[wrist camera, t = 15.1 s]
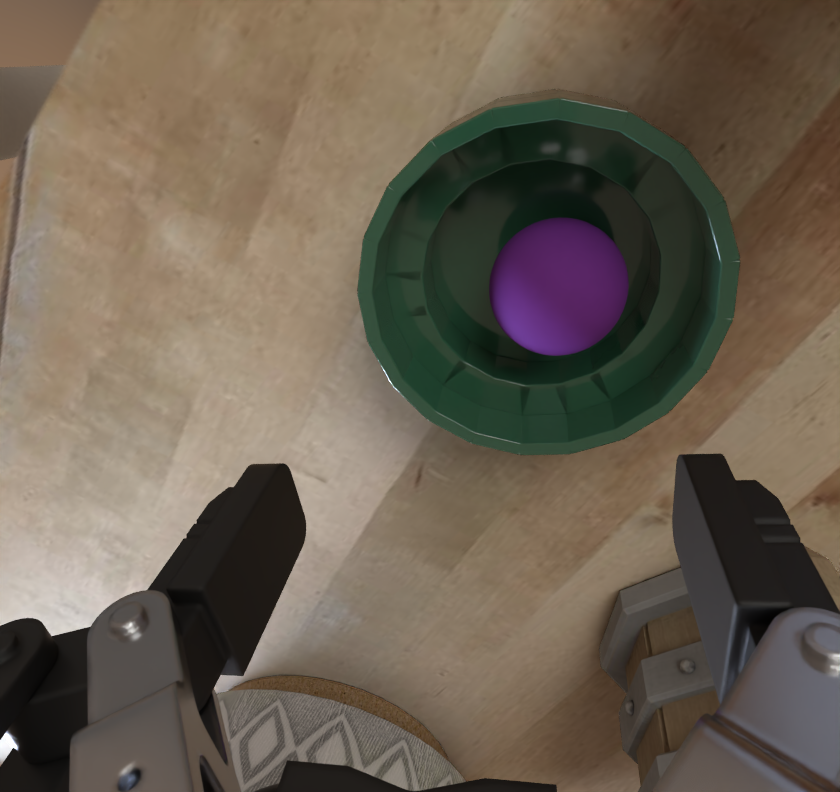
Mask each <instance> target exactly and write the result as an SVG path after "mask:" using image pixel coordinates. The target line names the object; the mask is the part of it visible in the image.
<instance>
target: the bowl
mask: <svg viewBox="0 0 840 792" xmlns="http://www.w3.org/2000/svg"><path fill="white" fill-rule="evenodd" d="M549 218H573V219H579V220H582V221H585V222H587V223H589V224H591V225H593V226H595V227H597V228H599V229H600V230H602V231H603V232H605V233H606V234H607V235H608V236H609V237H610V238H611V239H612V240H613V241H614V243H615V244H616V245H617V247H618V248H619V250H620V252H621V254H622V256H623V258H624V261H625V264H626V267H627V272H628V282H629V288H628V296H627V300H626V304H625V307H624V310H623V312H622V314H621V316H620V318H619V320H618V322H617V323H616V325H615V326H614V327H613V328H612V330H611V331H610V332H609V333H608V334H607V335H606V336H605V337H604V338H603V339H601V340H600V341H599V342H598V343H596V344H594V345H593V346H591V347H589V348H587V349H585V350H583V351H580V352H577V353H573V354H569V355H561V356H550V355H543V354H539V353H535V352H532V351H530V350H527V349H525V348H523V347H522V346H520V345H518V344H517V343H516V342H514V341H513V340H512V339H511V338H509V336H508V335H507V334H506V333H505V332H504V331H503V329H502V328H501V327H500V325H499V324H498V322H497V320H496V318H495V316H494V313H493V310H492V307H491V303H490V297H489V283H490V275H491V271H492V268H493V265H494V263H495V260H496V258H497V256H498V255H499V253H500V251H501V250H502V248H503V247H504V246H505V244H506V243H507V242H508V241H509V240H510V239H511V238H512V237H513V236H514V235H515V234H516V233H518V232H519V231H521V230H522V229H524V228H525V227H527V226H529V225H531V224H533V223H536V222H538V221H541V220H545V219H549ZM739 259H740V255H739V251H738V247H737V243H736V239H735V236H734V232H733V228H732V224H731V220H730V216H729V212H728V208H727V205H726V201H725V200H724V197H723V196H722V194H721V193H720V192H719V190H718V189H717V187H716V186H715V185H714V183H713V182H712V181H711V179H710V178H709V177H708V175H707V174H706V173H705V171H704V170H703V168H702V167H701V166H700V164H699V163H698V162H697V160H696V159H695V158H694V156H693V155H692V154H691V152H690V151H689V150H688V148H686V147H685V146H684V145H683V144H682V143H680V142H679V141H677V140H676V139H674V138H673V137H672V136H670V135H669V134H667V133H666V132H665V131H663V130H662V129H660V128H659V127H657V126H655V125H654V124H652V123H651V122H649V121H647V120H646V119H644V118H643V117H641V116H639V115H638V114H636V113H634V112H633V111H631V110H630V109H628V108H626V107H625V106H623V105H622V104H620V103H618V102H617V101H615V100H612V99H608V98H602V97H597V96H592V95H587V94H582V93H577V92H572V91H567V90H562V89H552V90H545V91H539V92H532V93H526V94H519V95H513V96H507V97H501V98H498V99H496V100H494V101H492V102H490V103H488V104H487V105H485V106H483V107H481V108H479V109H477V110H475V111H473V112H471V113H470V114H468V115H466V116H464V117H462V118H460V119H458V120H456V121H454V122H452V123H451V124H450V125H448V126H447V127H446V128H445V129H443V130H442V131H441V132H440V133H438V134H437V135H436V136H435V137H434V138H432V139H431V140H430V141H429V142H428V143H427V144H426V145H425V146H424V147H423V148H422V149H421V150H420V152H419V153H418V154H417V155H416V156H415V157H414V158H413V159H412V160H411V161H410V162H409V163H408V164H407V165H406V166H405V167H404V168H403V169H402V170H401V171H400V173H399V174H398V175H397V176H396V177H395V178H394V179H393V180H392V181H391V182H390V183H389V185H388V186H387V188H386V190H385V192H384V194H383V196H382V198H381V200H380V203H379V205H378V207H377V209H376V211H375V213H374V216H373V218H372V220H371V222H370V224H369V226H368V228H367V231H366V233H365V235H364V239H363V243H362V252H361V261H360V270H359V279H358V288H357V291H358V293H357V294H358V299H359V304H360V308H361V313H362V318H363V323H364V327H365V332H366V337H367V341H368V343H369V346H370V347H371V349H372V351H373V353H374V354H375V356H376V358H377V360H378V362H379V363H380V365H381V367H382V369H383V370H384V372H385V374H386V376H387V377H388V379H389V381H390V383H391V385H393V387H394V388H395V389H396V390H397V391H398V392H399V393H400V394H401V395H402V396H403V397H404V398H405V399H406V400H407V401H408V402H409V403H410V404H412V405H413V406H414V407H415V408H416V409H417V410H418V411H419V412H420V413H421V414H422V415H423V416H424V417H425V418H426V419H428V420H429V421H430V422H432V423H434V424H436V425H438V426H440V427H442V428H443V429H445V430H447V431H449V432H451V433H453V434H455V435H456V436H458V437H460V438H462V439H464V440H466V441H468V442H469V443H472V444H476V445H480V446H484V447H489V448H493V449H497V450H501V451H505V452H509V453H514V454H520V455H557V454H571V453H572V454H573V453H577V452H580V451H584V450H587V449H591V448H595V447H598V446H602V445H605V444H609V443H613V442H616V441H620V440H622V439H625V438H627V437H628V436H630V435H632V434H633V433H635V432H637V431H639V430H640V429H642V428H644V427H645V426H647V425H649V424H650V423H652V422H654V421H656V420H657V419H659V418H661V417H662V416H664V415H666V414H667V413H669V411H671V410H672V409H673V408H674V407H675V406H676V405H677V403H678V402H679V401H680V400H681V399H682V398H683V397H684V396H685V395H686V394H687V393H688V392H689V391H690V390H691V389H692V388H693V387H694V386H695V384H696V383H697V382H698V381H699V380H700V379H701V378H702V377H703V376H704V375H705V374H706V373H707V370H709V368H710V366H711V364H712V362H713V360H714V358H715V356H716V354H717V352H718V350H719V348H720V346H721V344H722V342H723V340H724V338H725V336H726V333H727V331H728V329H729V327H730V325H731V323H732V321H733V319H732V318H734V312H735V303H736V295H737V286H738V277H739V268H740V260H739Z"/></svg>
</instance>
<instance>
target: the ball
mask: <svg viewBox="0 0 840 792" xmlns="http://www.w3.org/2000/svg"><path fill="white" fill-rule="evenodd" d="M628 288H629V282H628V272H627V267H626V264H625V261H624V258H623V256H622V254H621V252H620V250H619V248H618V247H617V245H616V244H615V243H614V241H613V240H612V239H611V238H610V237H609V236H608V235H607V234H606V233H605V232H603V231H602V230H600V229H599V228H597V227H595V226H593V225H591V224H589V223H587V222H585V221H582V220H579V219H573V218H549V219H545V220H541V221H538V222H536V223H533V224H531V225H529V226H527V227H525V228H524V229H522V230H521V231H519V232H518V233H516V234H515V235H514V236H513V237H512V238H511V239H510V240H509V241H508V242H507V243H506V244H505V246H504V247H503V248H502V250H501V251H500V253H499V255H498V256H497V258H496V260H495V263H494V265H493V268H492V271H491V275H490V283H489V297H490V303H491V307H492V310H493V313H494V316H495V318H496V320H497V322H498V324H499V325H500V327H501V328H502V329H503V331H504V332H505V333H506V334H507V335H508V336H509V338H511V339H512V340H513V341H514V342H516V343H517V344H518V345H520V346H522V347H523V348H525V349H527V350H530V351H532V352H535V353H539V354H543V355H550V356H561V355H569V354H573V353H577V352H580V351H583V350H585V349H587V348H589V347H591V346H593V345H594V344H596V343H598V342H599V341H600V340H601V339H603V338H604V337H605V336H606V335H607V334H608V333H609V332H610V331H611V330H612V328H613V327H614V326H615V325H616V323H617V322H618V320H619V318H620V316H621V314H622V312H623V310H624V307H625V304H626V300H627V296H628Z"/></svg>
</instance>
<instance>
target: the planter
mask: <svg viewBox="0 0 840 792" xmlns="http://www.w3.org/2000/svg"><path fill="white" fill-rule="evenodd" d="M217 697H218V701H219V705H220V709H221V713H222V718H223V722H224V726H225V730H226V735H227V739H228V743H229V747H230V751H231V756H232V760H233V764H234V768H235V773H236V776H237V780H238V783H239V786H240V789H241V792H254V791H256V790H258V789H261V788H264V787H267V786H270V785H273V784H278V783H279V782H280V779H281V776H282V773H283V770H284V767H285V765H286V762H287V760H290V761H301V762H312V763H323V764H334V765H345V766H350V767H352V768H355V769H357V770H360V771H362V772H364V773H367V774H369V775H372V776H374V777H376V778H379V779H381V780H384V781H386V782H389V783H391V784H393V785H396V786H398V787H401V788H403V789H406V790H409V791H420V790H425V789H431V788H436V787H441V786H447V785H452V784H457V783H463V782H466V780H465V779H464V778H463V777H462V775H461V774H460V773H459V772H458V771H457V770H456V769H455V767H454V766H453V765H452V764H451V763H450V762H449V761H448V758H447V756H446V754H445V752H444V750H443V749H442V747H441V745H440V744H439V742H438V741H437V740H436V739H435V738H434V736H433V735H432V734H431V733H430V732H429V731H428V730H427V729H426V728H425V727H424V726H423V725H422V724H420V723H419V722H418V721H417V720H416V719H415V718H413V717H412V716H410V715H409V714H407V713H406V712H404V711H403V710H401V709H400V708H399V707H397V706H395V705H393V704H391V703H389V702H387V701H386V700H384V699H382V698H380V697H378V696H375V695H373V694H371V693H368V692H366V691H363V690H361V689H358V688H355V687H352V686H349V685H345V684H342V683H339V682H334V681H330V680H325V679H320V678H313V677H305V676H272V677H263V678H259V679H255V680H250V681H247V682H245V683H242V684H240V685H238V686H236V687H234V688H232V689H231V690H230V691H227V692H223V693H218V694H217Z"/></svg>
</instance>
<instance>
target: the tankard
mask: <svg viewBox="0 0 840 792" xmlns="http://www.w3.org/2000/svg"><path fill="white" fill-rule="evenodd" d="M804 547H805V546H804ZM805 548H806V550H807V552H808V554H809V556H810V558H811V559H812V561H813V563H814V565H815V567H816V569H817V570H818V572H819V574H820V576H821V578H822V580H823V582H824V583H825V585H826V587H827V589H828V591H829V593H830V594H831V596H832V598H833V600H834V602H835V604H836V605H837V607H838V609H839V611H840V576H839V575H838V573H837V571H836V570H835V568H834V566H833V565H832V563H831V562H830V560H829V559H827V558H825V557H823V556H821V555H820V554H818V553H816V552H814V551H812V550H810V549H808V548H807V547H805ZM599 652H600V663H601V668H602V669H603V670H604V671H605V672H606V673H607V674H608V675H609V676H610V677H611V678H612V679H613V680H614V681H615V682H616V683H617V684H618V685H619V686H620V687H621V689H622V690H623V691H624V692H625V693H626V697H625V699H624V701H623V704H622V706H621V708H620V711H619V719H620V728H621V737H622V746H623V750H624V751H625V752H626V753H627V754H628V755H629V756H630V757H631V758H632V759H633V760H634V761H635V762H636V763H637V764H638V768H639V775H640V783H641V787H640V789H639V791H638V792H652V791H653V789H654V787H655V786H656V784H657V783H658V781H659V780H660V778H661V776H662V775H663V773H664V772H665V770H666V769H667V767H668V765H669V764H670V762H671V761H672V759H673V758H674V756H675V754H676V753H677V751H678V750H679V748H680V746H681V745H682V743H683V742H684V740H685V739H686V737H687V735H688V734H689V732H690V731H691V729H692V728H693V726H694V725H695V723H696V722H697V721H698V720H699V718H700V717H701V716H702V715H704V714H706V713H708V714H710V715H711V716H712V715H713V714H714V713H715V712H716V711H717V709H718V708H719V706H720V703H719V700H718V696H717V692H716V689H715V685H714V682H713V678H712V675H711V671H710V668H709V664H708V661H707V657H706V654H705V650H704V647H703V643H702V640H701V636H700V633H699V629H698V626H697V622H696V619H695V615H694V612H693V608H692V605H691V601H690V598H689V594H688V591H687V587H686V584H685V580H684V576H683V573H682V569H681V568H678V569H676V570H673V571H670V572H668V573H665V574H663V575H660V576H657V577H655V578H652V579H650V580H647V581H645V582H642V583H639V584H637V585H634V586H632V587H629V588H626V589H624V590H621V591H620V593H619V595H618V598H617V601H616V604H615V606H614V609H613V612H612V615H611V617H610V620H609V623H608V626H607V628H606V631H605V634H604V637H603V639H602V642H601V645H600V648H599Z"/></svg>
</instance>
